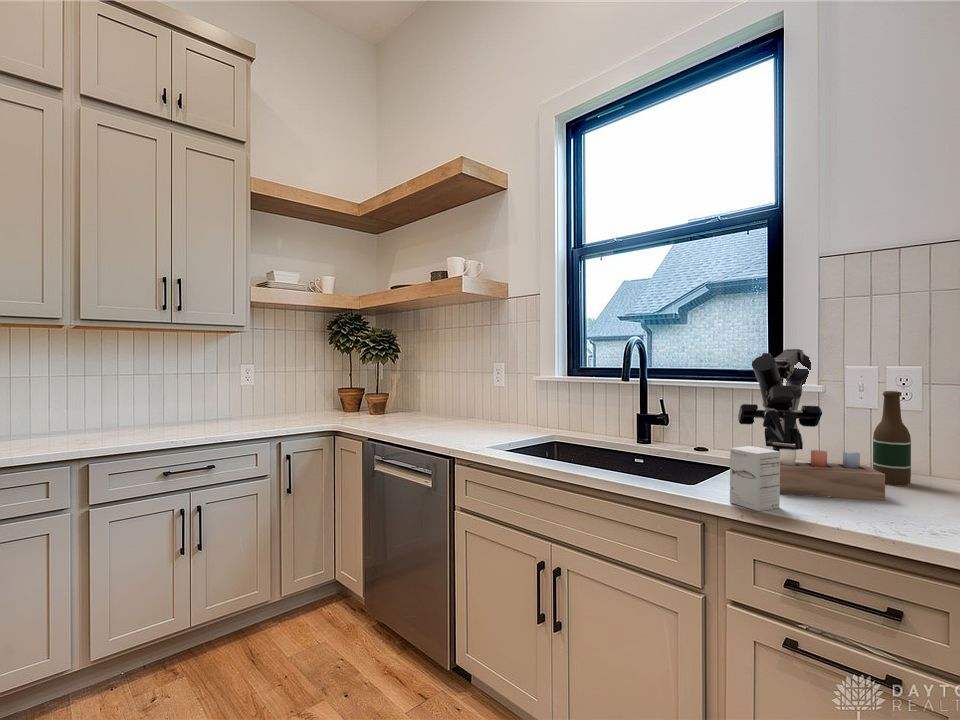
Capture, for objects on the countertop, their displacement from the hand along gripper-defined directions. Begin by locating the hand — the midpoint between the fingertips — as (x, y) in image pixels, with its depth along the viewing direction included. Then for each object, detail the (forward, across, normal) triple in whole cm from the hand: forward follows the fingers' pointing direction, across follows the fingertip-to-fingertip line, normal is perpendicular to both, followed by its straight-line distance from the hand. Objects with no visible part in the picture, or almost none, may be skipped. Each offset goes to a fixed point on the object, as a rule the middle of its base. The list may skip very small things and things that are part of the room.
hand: (785, 440), depth 131 cm
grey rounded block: (+5, +14, +4) cm, 16 cm away
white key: (+5, 0, +4) cm, 6 cm away
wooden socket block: (+10, +8, +6) cm, 14 cm away
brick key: (+5, +7, +4) cm, 10 cm away
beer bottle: (-1, +28, +17) cm, 33 cm away
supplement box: (+23, -11, -5) cm, 26 cm away
